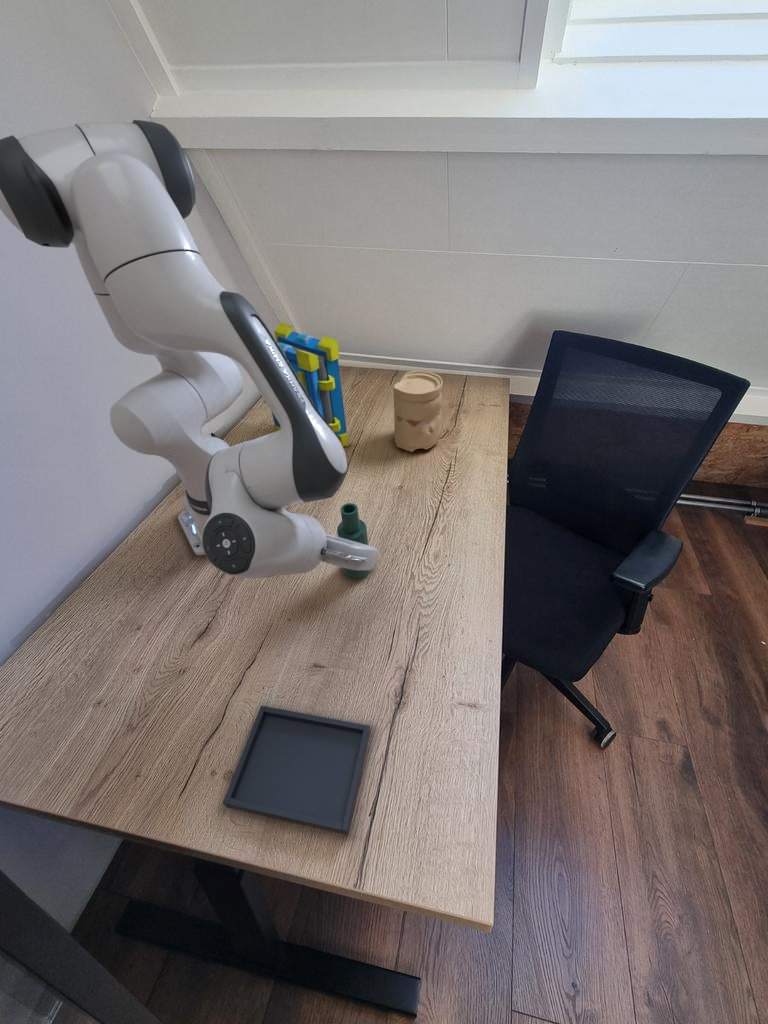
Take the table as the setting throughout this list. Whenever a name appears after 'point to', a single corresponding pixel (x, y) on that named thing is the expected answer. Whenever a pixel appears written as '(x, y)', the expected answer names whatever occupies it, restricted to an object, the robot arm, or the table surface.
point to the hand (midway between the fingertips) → (334, 543)
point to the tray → (300, 769)
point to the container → (417, 410)
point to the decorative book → (316, 374)
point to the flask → (352, 534)
